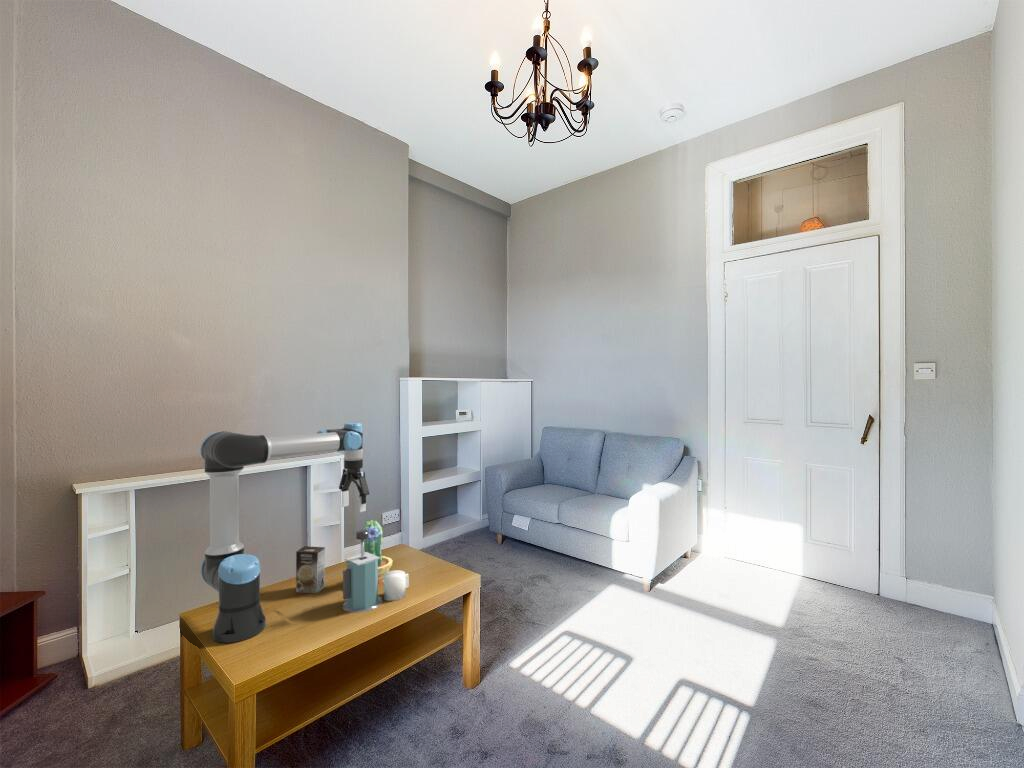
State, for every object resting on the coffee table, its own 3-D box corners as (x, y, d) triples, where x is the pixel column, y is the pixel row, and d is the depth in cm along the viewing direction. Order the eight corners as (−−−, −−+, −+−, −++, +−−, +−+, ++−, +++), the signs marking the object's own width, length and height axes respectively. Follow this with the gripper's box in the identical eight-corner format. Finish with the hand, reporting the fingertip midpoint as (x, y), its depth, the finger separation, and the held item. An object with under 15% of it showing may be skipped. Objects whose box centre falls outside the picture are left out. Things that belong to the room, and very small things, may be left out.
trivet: (355, 618, 161) (355, 616, 161) (335, 606, 170) (335, 604, 170) (390, 604, 171) (390, 601, 171) (369, 593, 181) (369, 591, 181)
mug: (391, 605, 171) (391, 580, 171) (379, 598, 176) (379, 574, 176) (414, 595, 178) (414, 572, 179) (401, 589, 184) (401, 566, 184)
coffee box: (295, 592, 182) (294, 551, 182) (304, 585, 188) (303, 546, 188) (317, 593, 181) (317, 552, 181) (325, 586, 187) (325, 546, 187)
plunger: (358, 582, 165) (358, 536, 166) (347, 577, 170) (347, 532, 171) (377, 576, 171) (377, 531, 171) (366, 571, 176) (365, 527, 176)
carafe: (351, 614, 162) (351, 567, 162) (336, 606, 168) (336, 560, 169) (382, 602, 171) (382, 557, 171) (367, 594, 178) (367, 551, 178)
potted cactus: (345, 587, 186) (345, 524, 186) (368, 572, 201) (367, 514, 201) (379, 592, 181) (378, 528, 182) (399, 576, 196) (399, 517, 196)
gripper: (377, 460, 194) (378, 511, 194) (346, 455, 211) (346, 502, 210) (361, 463, 189) (361, 515, 188) (330, 457, 205) (330, 505, 205)
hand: (353, 508), depth 199 cm, fingers open, 13 cm apart
